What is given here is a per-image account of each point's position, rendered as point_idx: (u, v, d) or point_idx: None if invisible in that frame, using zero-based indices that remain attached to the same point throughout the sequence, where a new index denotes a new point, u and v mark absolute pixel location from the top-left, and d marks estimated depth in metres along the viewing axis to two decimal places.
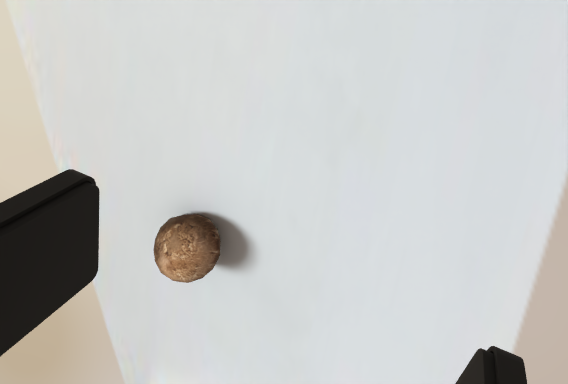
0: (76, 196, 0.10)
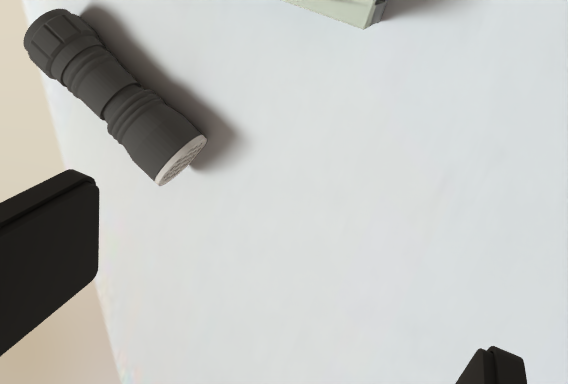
0: (76, 196, 0.10)
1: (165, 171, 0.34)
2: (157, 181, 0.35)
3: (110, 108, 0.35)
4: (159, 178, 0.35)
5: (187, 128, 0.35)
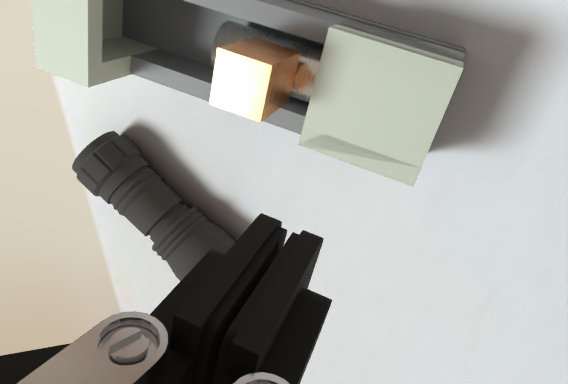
0: (277, 242, 0.10)
1: None
2: None
3: (156, 230, 0.36)
4: None
5: None
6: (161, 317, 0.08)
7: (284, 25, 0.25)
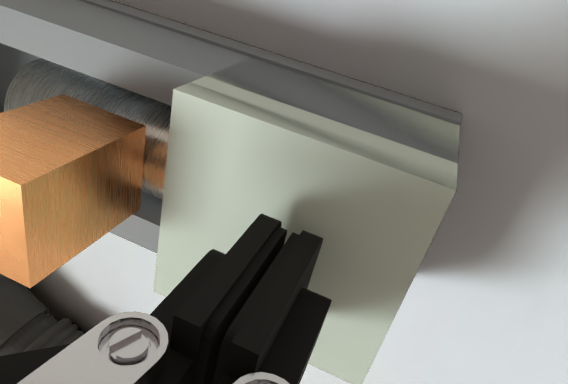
0: (277, 242, 0.10)
1: None
2: None
3: None
4: None
5: None
6: (161, 317, 0.08)
7: (115, 74, 0.13)
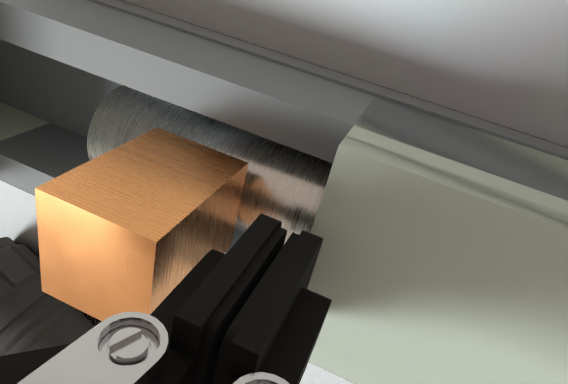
0: (277, 242, 0.10)
1: None
2: None
3: None
4: None
5: None
6: (161, 317, 0.08)
7: (245, 119, 0.12)
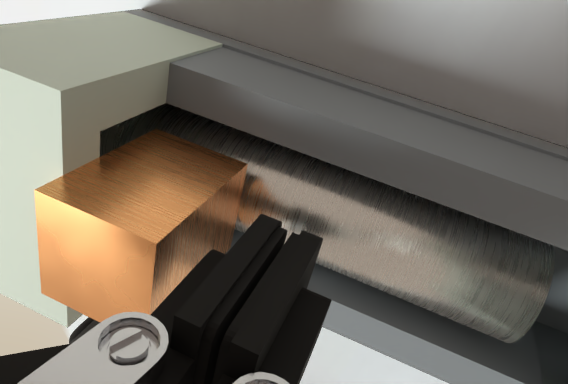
0: (277, 242, 0.10)
1: None
2: None
3: None
4: None
5: None
6: (161, 317, 0.08)
7: (522, 221, 0.11)
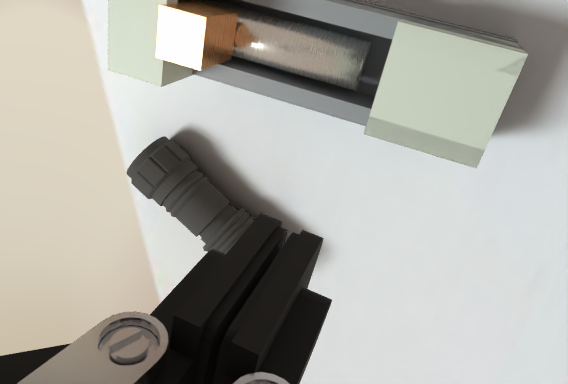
0: (277, 242, 0.10)
1: None
2: None
3: (208, 230, 0.37)
4: None
5: None
6: (161, 317, 0.08)
7: (349, 22, 0.27)
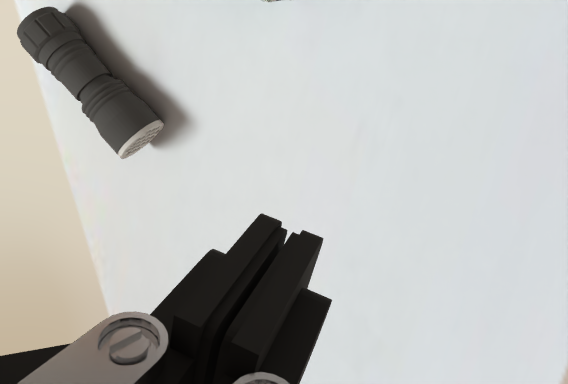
0: (277, 242, 0.10)
1: (126, 147, 0.43)
2: (119, 154, 0.44)
3: (85, 92, 0.43)
4: (121, 152, 0.43)
5: (147, 113, 0.44)
6: (161, 317, 0.08)
7: None
